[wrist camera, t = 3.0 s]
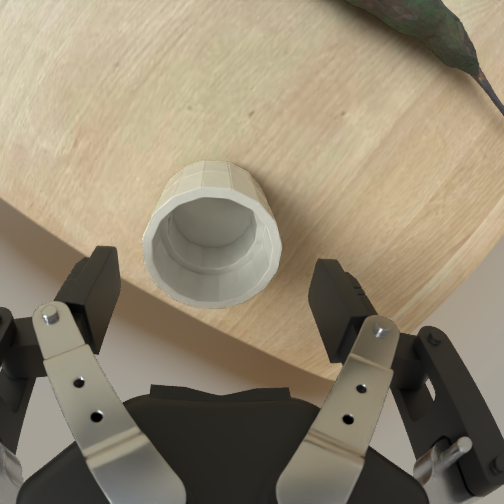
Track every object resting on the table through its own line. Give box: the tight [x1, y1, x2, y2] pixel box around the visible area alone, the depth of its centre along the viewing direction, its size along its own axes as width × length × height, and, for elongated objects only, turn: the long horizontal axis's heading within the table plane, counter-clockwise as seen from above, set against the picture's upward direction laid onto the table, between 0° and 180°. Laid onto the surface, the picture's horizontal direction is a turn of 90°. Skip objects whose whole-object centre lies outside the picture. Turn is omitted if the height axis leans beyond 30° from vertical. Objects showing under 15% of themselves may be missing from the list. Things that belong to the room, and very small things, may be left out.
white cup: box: [142, 160, 282, 309], centre depth 16 cm, size 6×6×5 cm
